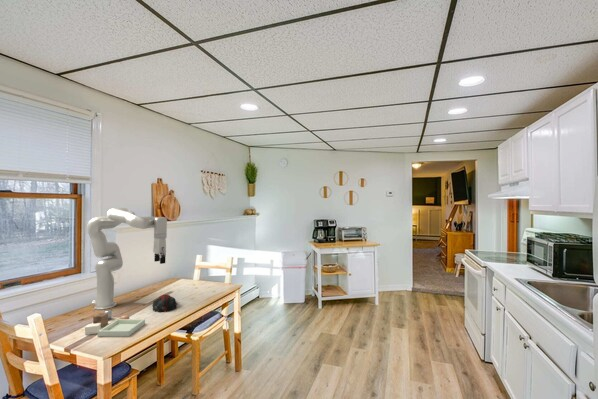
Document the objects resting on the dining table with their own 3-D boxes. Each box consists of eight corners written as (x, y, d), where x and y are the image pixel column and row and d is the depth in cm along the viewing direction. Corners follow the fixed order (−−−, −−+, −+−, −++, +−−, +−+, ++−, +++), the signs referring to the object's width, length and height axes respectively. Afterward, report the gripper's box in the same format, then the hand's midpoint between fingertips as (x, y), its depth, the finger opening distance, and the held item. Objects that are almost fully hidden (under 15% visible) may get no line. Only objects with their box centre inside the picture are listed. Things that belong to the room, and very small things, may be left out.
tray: (97, 336, 152) (97, 331, 152) (117, 323, 168) (117, 319, 168) (128, 336, 152) (128, 331, 152) (145, 323, 168) (145, 319, 168)
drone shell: (167, 313, 185) (168, 300, 185) (140, 311, 189) (140, 298, 189) (187, 302, 206) (187, 291, 206) (162, 300, 210) (162, 289, 210)
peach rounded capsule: (118, 322, 170) (118, 317, 170) (123, 319, 175) (123, 314, 175) (126, 322, 170) (126, 317, 170) (130, 319, 175) (130, 314, 175)
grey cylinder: (102, 320, 173) (102, 312, 174) (106, 318, 177) (106, 309, 178) (108, 320, 173) (108, 312, 174) (113, 318, 177) (113, 309, 178)
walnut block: (93, 327, 164) (93, 316, 164) (99, 323, 169) (99, 313, 169) (102, 327, 164) (102, 316, 164) (108, 323, 169) (108, 313, 169)
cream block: (84, 335, 155) (84, 327, 155) (87, 331, 158) (87, 324, 158) (98, 333, 157) (98, 325, 157) (100, 330, 160) (100, 322, 160)
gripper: (149, 235, 197) (149, 261, 196) (159, 237, 184) (158, 265, 184) (161, 234, 202) (160, 259, 202) (171, 236, 190) (170, 263, 189)
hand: (159, 262), depth 193 cm, fingers open, 9 cm apart
